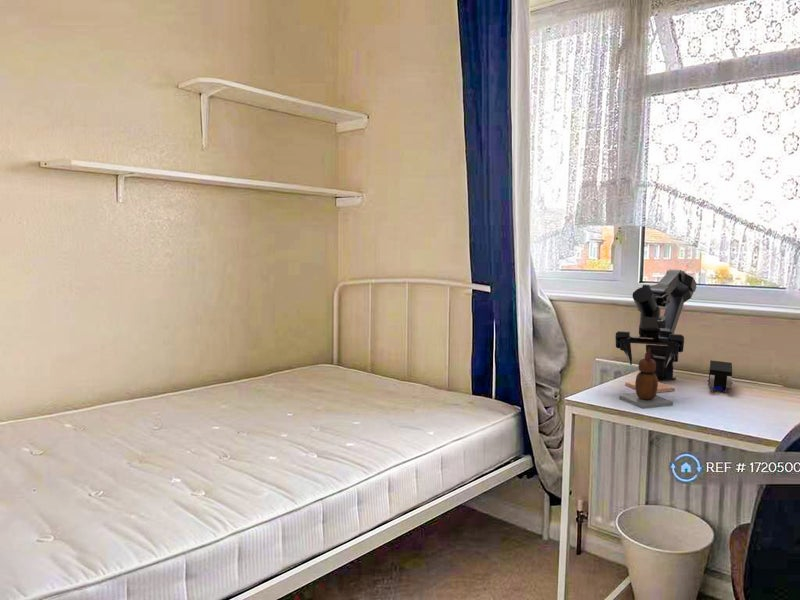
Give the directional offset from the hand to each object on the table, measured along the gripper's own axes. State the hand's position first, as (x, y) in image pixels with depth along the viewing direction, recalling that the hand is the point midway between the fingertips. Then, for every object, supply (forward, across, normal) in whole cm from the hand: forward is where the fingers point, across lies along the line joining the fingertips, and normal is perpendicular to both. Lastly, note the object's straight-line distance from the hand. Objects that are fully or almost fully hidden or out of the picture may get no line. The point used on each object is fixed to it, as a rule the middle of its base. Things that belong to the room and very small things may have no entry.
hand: (647, 365), depth 175 cm
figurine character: (-6, +20, +20) cm, 29 cm away
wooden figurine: (+10, 0, +2) cm, 10 cm away
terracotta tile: (-1, +1, +14) cm, 14 cm away
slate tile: (+10, 0, +3) cm, 11 cm away
